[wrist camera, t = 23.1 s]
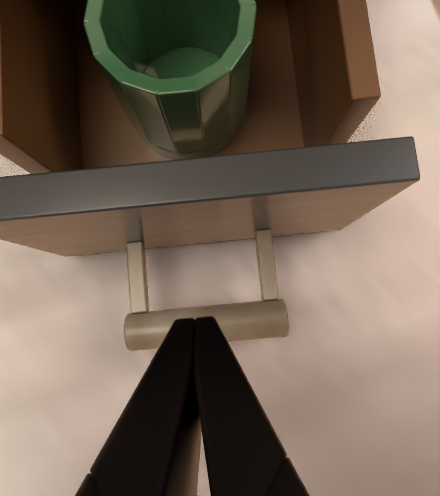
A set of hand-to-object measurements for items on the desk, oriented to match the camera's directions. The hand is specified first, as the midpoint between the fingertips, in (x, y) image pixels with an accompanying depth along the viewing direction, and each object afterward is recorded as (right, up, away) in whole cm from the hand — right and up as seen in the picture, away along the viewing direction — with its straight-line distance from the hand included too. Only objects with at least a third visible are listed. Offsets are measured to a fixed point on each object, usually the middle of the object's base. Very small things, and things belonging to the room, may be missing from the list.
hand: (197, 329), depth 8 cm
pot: (-1, +8, +8) cm, 12 cm away
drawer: (-1, +6, +9) cm, 11 cm away
